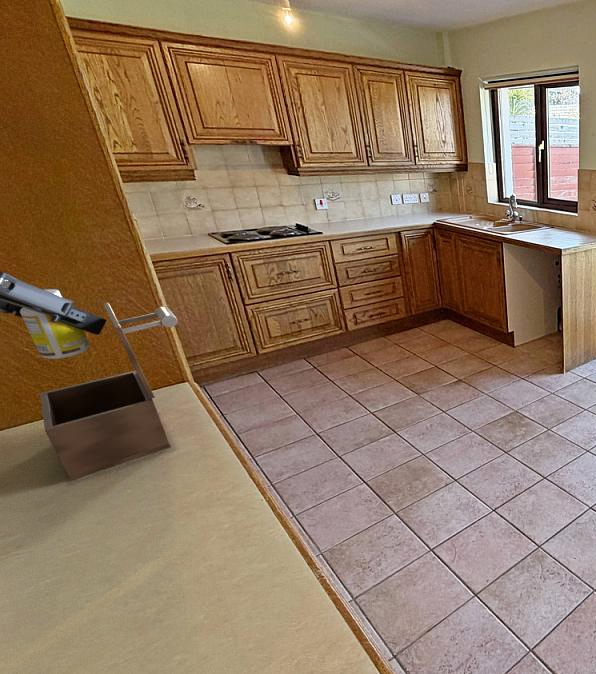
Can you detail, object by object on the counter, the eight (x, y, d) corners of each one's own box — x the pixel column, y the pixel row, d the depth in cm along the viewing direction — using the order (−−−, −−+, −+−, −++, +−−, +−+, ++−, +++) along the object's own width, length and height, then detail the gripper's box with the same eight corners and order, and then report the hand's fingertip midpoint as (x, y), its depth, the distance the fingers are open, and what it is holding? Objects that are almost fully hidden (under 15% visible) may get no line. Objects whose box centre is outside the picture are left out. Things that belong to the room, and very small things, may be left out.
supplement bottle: (96, 343, 80) (73, 286, 76) (82, 357, 76) (56, 296, 72) (51, 348, 78) (24, 289, 74) (33, 362, 73) (4, 300, 69)
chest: (70, 480, 76) (44, 430, 72) (62, 439, 86) (40, 393, 82) (171, 447, 85) (153, 400, 81) (154, 413, 94) (137, 369, 91)
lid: (115, 328, 75) (177, 314, 80) (102, 303, 84) (159, 291, 90) (149, 399, 81) (206, 381, 86) (134, 368, 90) (186, 354, 95)
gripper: (-206, 272, 57) (21, 341, 78) (-67, 283, 55) (124, 351, 77) (-163, 220, 59) (45, 301, 81) (-30, 230, 58) (145, 309, 80)
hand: (83, 325), depth 79 cm, fingers closed on supplement bottle, 6 cm apart
